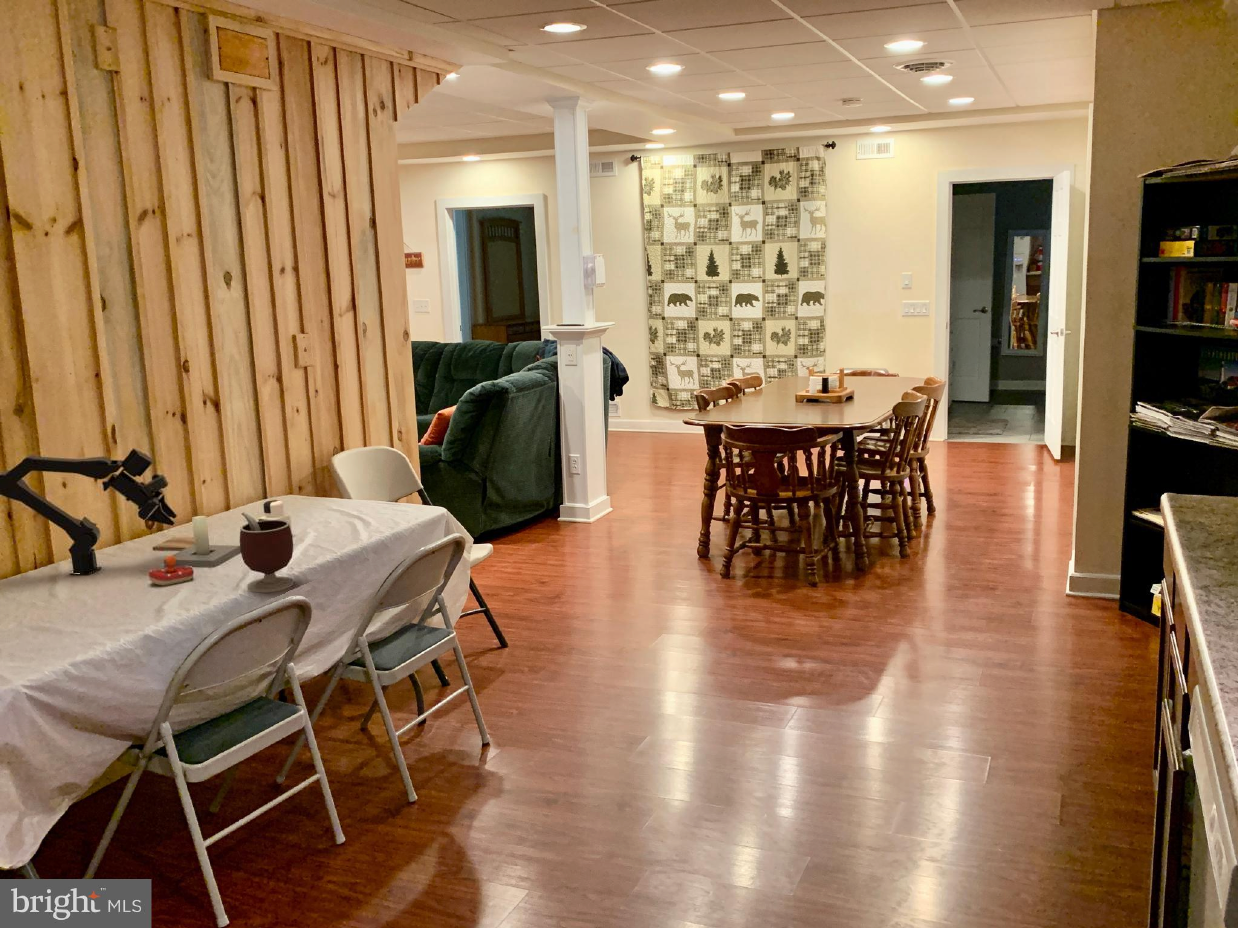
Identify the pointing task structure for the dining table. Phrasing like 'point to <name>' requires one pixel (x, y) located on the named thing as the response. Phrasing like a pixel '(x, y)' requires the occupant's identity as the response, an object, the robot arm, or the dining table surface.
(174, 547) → the copper sheet
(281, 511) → the medicine bottle
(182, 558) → the cover plate
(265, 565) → the mate gourd
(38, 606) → the dining table surface
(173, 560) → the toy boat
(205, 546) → the key peg
